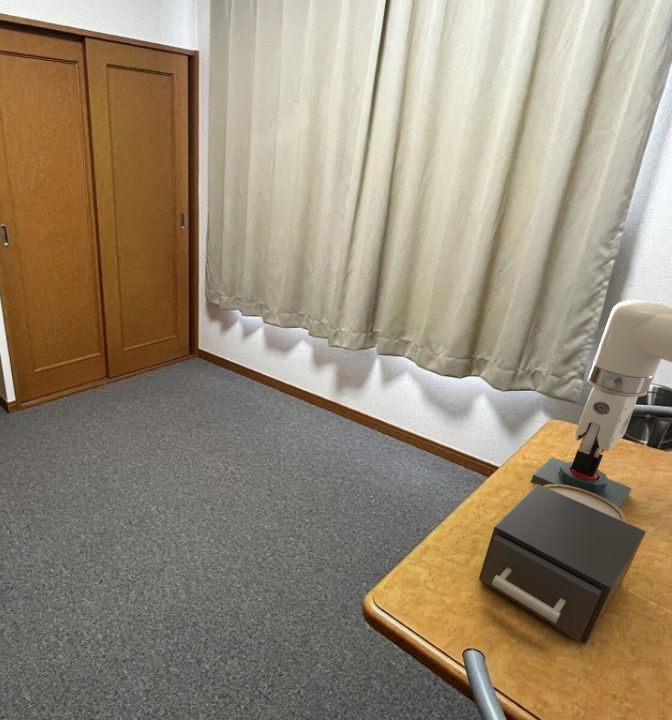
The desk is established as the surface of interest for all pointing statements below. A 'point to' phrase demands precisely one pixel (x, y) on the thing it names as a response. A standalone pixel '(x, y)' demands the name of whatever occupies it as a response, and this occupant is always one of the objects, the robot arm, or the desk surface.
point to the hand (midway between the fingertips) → (583, 471)
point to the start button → (584, 475)
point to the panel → (581, 481)
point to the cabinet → (573, 541)
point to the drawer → (541, 586)
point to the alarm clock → (588, 500)
